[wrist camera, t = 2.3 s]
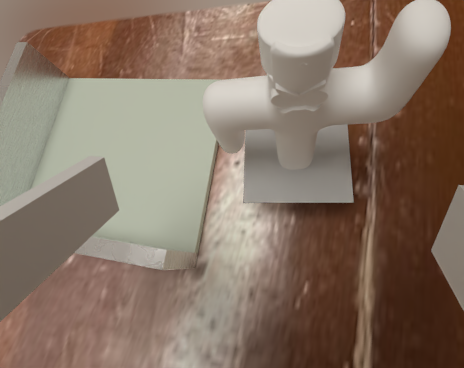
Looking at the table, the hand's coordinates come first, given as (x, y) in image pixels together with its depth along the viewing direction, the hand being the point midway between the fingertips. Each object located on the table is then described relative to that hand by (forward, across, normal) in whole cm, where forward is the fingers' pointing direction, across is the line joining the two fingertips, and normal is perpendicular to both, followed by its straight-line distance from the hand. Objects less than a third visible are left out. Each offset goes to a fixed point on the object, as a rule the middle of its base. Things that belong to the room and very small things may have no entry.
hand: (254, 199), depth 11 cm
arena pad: (+12, -15, -4) cm, 20 cm away
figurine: (+12, +1, -5) cm, 13 cm away
